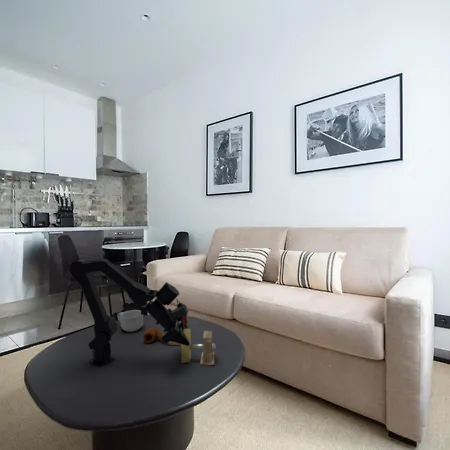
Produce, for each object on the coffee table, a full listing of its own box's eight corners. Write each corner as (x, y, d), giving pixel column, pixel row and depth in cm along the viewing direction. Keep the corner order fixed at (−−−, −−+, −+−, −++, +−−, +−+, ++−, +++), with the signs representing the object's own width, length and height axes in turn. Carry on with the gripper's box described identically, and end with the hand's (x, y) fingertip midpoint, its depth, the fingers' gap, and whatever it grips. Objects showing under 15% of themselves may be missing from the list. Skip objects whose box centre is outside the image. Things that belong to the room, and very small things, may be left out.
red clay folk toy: (190, 326, 139) (190, 296, 139) (179, 330, 134) (179, 299, 134) (180, 323, 144) (180, 294, 144) (169, 327, 139) (169, 297, 139)
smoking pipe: (149, 337, 126) (149, 325, 126) (187, 340, 123) (187, 327, 123) (141, 344, 119) (141, 330, 119) (182, 347, 116) (182, 333, 116)
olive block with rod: (181, 362, 103) (181, 332, 103) (182, 357, 107) (182, 328, 107) (215, 362, 103) (215, 332, 103) (215, 357, 107) (215, 328, 107)
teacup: (148, 328, 137) (148, 312, 138) (130, 335, 128) (130, 318, 128) (129, 323, 145) (129, 307, 145) (111, 329, 136) (111, 313, 136)
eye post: (200, 365, 100) (200, 339, 101) (201, 354, 109) (201, 329, 110) (214, 365, 101) (213, 339, 101) (214, 354, 110) (214, 329, 110)
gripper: (171, 305, 96) (203, 337, 96) (179, 292, 114) (206, 319, 114) (148, 328, 95) (180, 360, 96) (160, 311, 114) (187, 338, 114)
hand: (189, 342), depth 105 cm, fingers closed on olive block with rod, 4 cm apart
